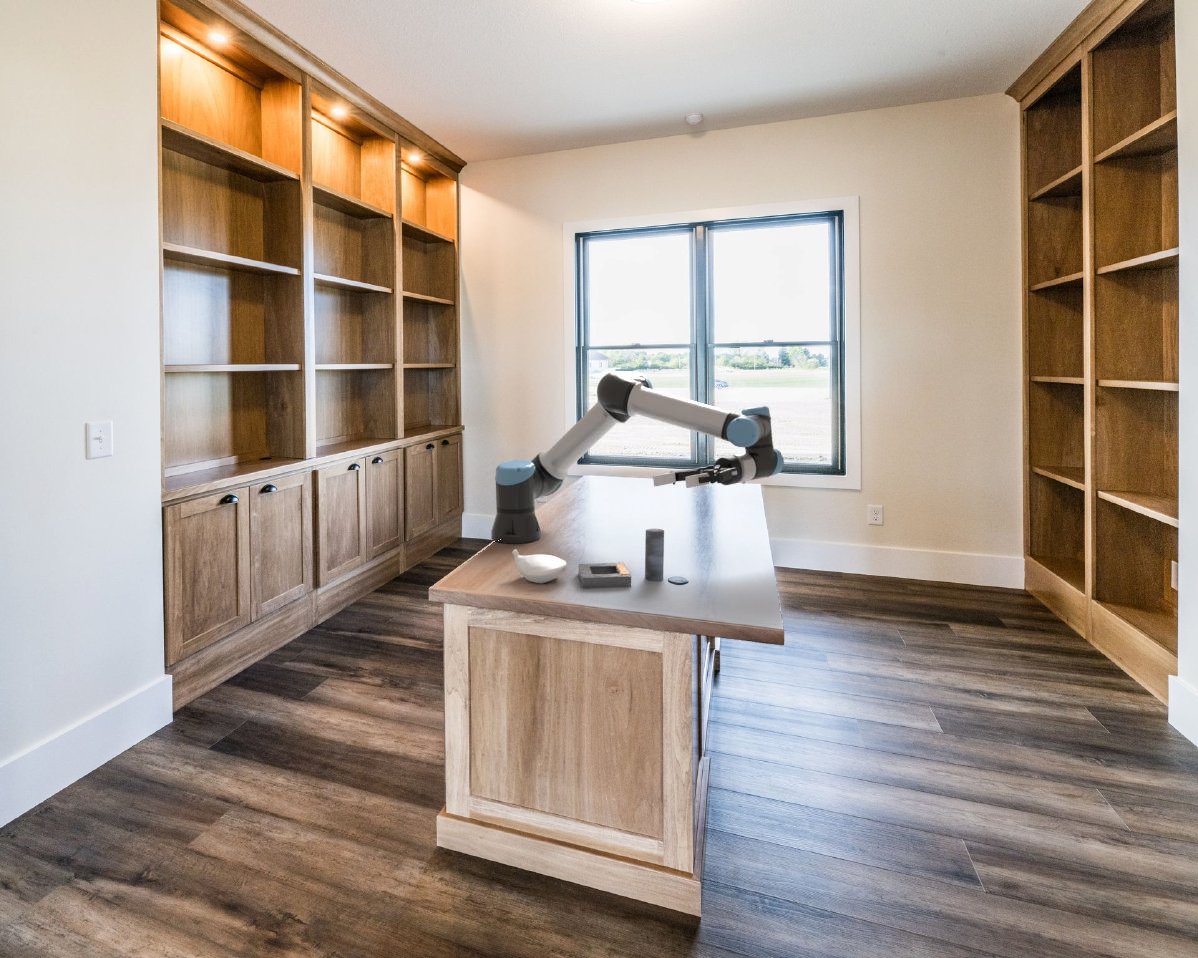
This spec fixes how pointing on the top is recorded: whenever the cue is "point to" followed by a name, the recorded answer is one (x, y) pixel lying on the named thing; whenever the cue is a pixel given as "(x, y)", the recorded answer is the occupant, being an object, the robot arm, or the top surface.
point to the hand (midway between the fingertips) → (669, 481)
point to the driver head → (539, 567)
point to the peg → (654, 554)
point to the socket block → (604, 575)
